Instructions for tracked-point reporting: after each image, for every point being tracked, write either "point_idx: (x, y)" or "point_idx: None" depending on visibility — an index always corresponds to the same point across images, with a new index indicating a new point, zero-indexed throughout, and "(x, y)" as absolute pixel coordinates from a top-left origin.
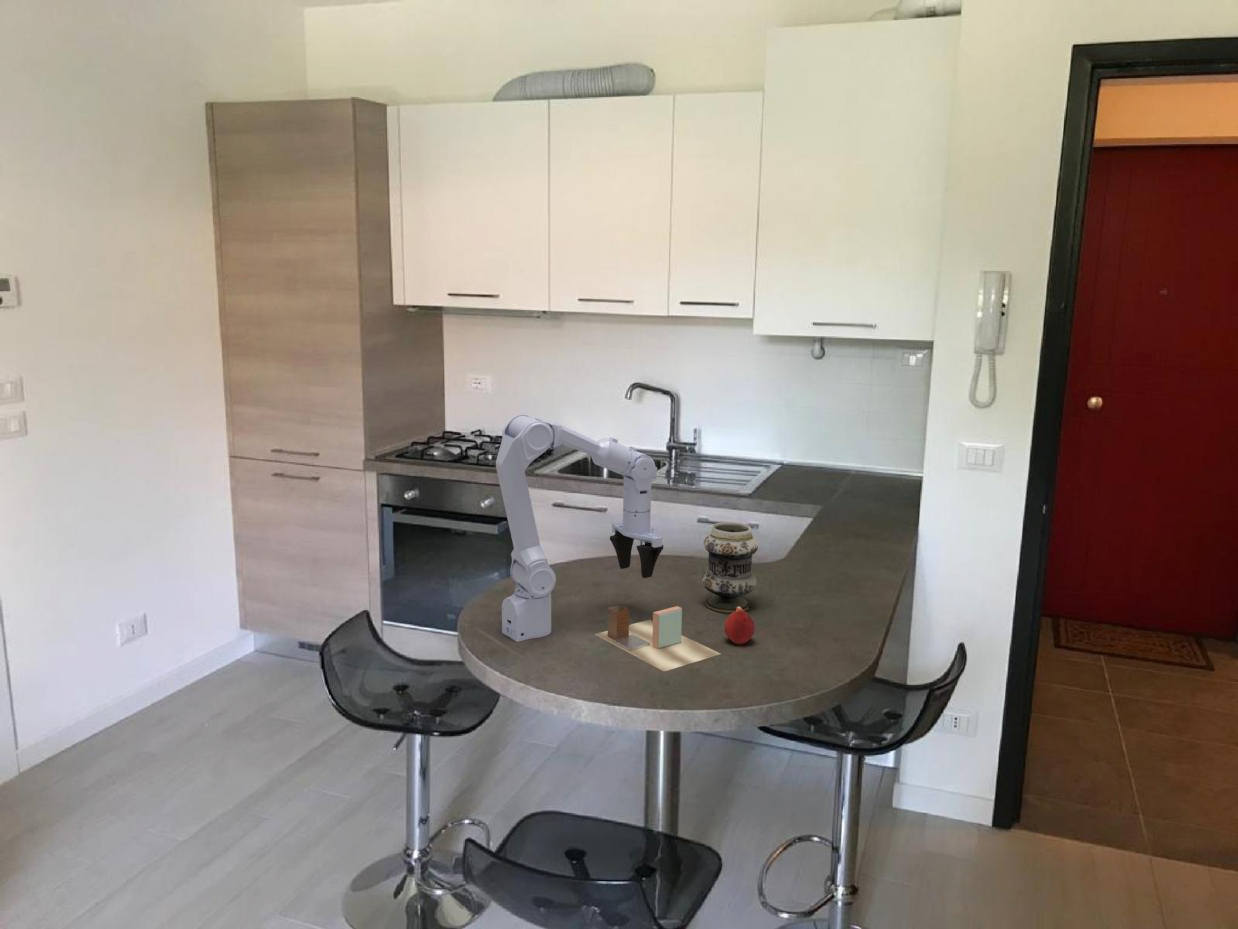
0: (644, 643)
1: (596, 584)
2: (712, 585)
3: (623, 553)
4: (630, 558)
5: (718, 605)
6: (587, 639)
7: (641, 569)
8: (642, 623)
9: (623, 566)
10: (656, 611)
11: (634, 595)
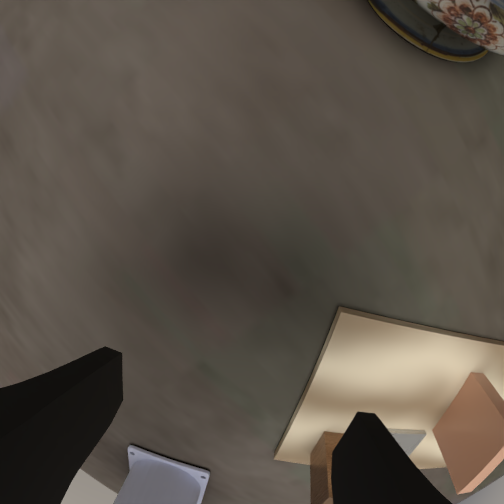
0: (415, 442)
1: (2, 140)
2: (497, 43)
3: (66, 456)
4: (85, 378)
5: (448, 39)
6: (266, 460)
7: (335, 501)
8: (340, 350)
9: (115, 397)
10: (464, 487)
11: (114, 111)
